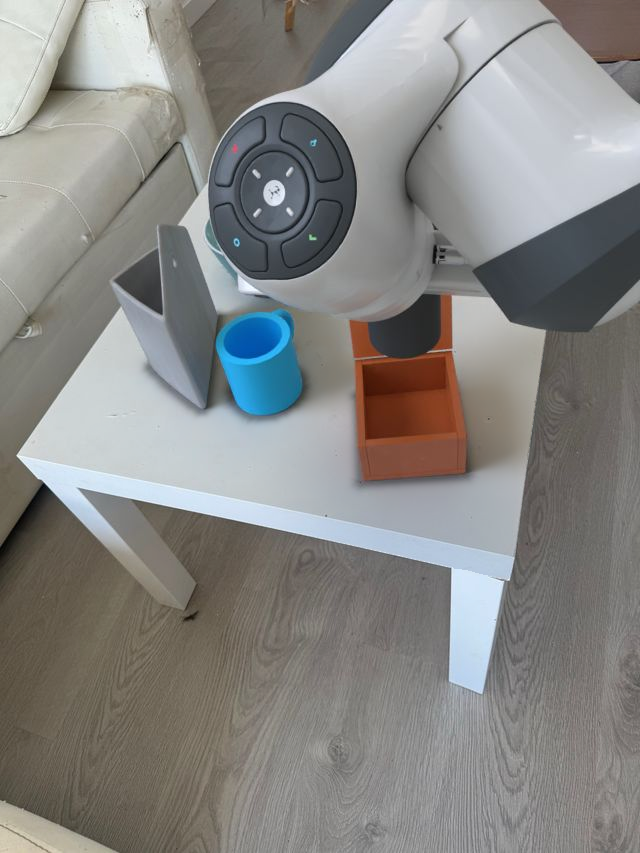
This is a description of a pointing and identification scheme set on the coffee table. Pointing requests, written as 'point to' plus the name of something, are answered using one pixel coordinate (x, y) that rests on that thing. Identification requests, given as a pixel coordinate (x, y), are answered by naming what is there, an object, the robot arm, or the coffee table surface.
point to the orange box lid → (365, 349)
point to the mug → (261, 361)
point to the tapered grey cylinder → (409, 329)
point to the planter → (171, 312)
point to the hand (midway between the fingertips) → (402, 275)
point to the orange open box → (409, 417)
